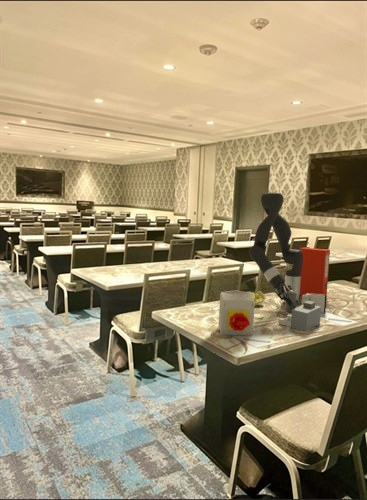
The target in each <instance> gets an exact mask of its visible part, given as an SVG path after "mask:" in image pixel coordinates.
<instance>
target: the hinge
mask: <svg viewBox="0 0 367 500" xmlns="http://www.w3.org/2000/svg"><path fill="white" fill-rule="evenodd" d="M327 296H328V295H327ZM327 296H326V295H323V294H308V293H307V294H306V295H302V296H301V305H303V303H304V302H306V301H312V302H315V306H320V307H321V313H320V314H326V311H327V310H326V309H327Z"/></svg>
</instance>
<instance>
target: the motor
mask: <svg viewBox="0 0 367 500" xmlns="http://www.w3.org/2000/svg"><path fill="white" fill-rule="evenodd" d="M321 314H322V313H321V307H320V306H315V302H312V301H306V302H304V303H303V305H302V304H301V305H299V306H296V308H294V309H292V313H291V314H287V315H286V319H285V318H278V324H279V325H283V326H286V327H290V328H293V329H297V330H300V331H304V332H307V330H308V331H309V330H311V329H313V328H314V326H315V327H317V326H318V325H320V324H321ZM316 325H317V326H316ZM312 327H313V328H312Z"/></svg>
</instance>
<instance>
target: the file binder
mask: <svg viewBox="0 0 367 500" xmlns="http://www.w3.org/2000/svg"><path fill="white" fill-rule="evenodd" d="M299 250H300V251H302V252H303V265H302V272H301V282H300V297H302V295H306V294H307V293H308V294H323V295H326V296H328V295H327V293H328V283H329V281H328V279H329V267H330V255H331V254H330V252H331V249H325V248H313V247H312V248H311V247H299Z"/></svg>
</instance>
